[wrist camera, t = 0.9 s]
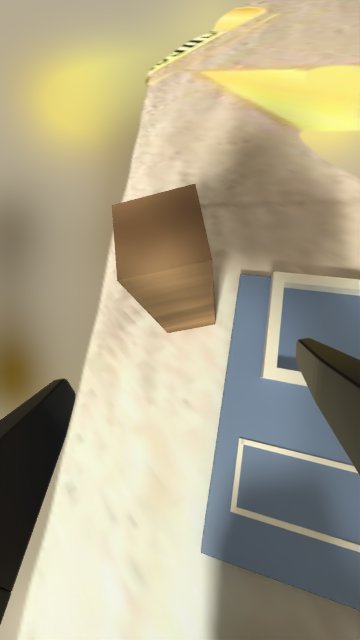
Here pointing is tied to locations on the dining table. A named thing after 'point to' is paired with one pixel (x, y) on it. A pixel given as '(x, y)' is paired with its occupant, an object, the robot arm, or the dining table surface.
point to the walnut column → (166, 257)
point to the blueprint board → (286, 442)
